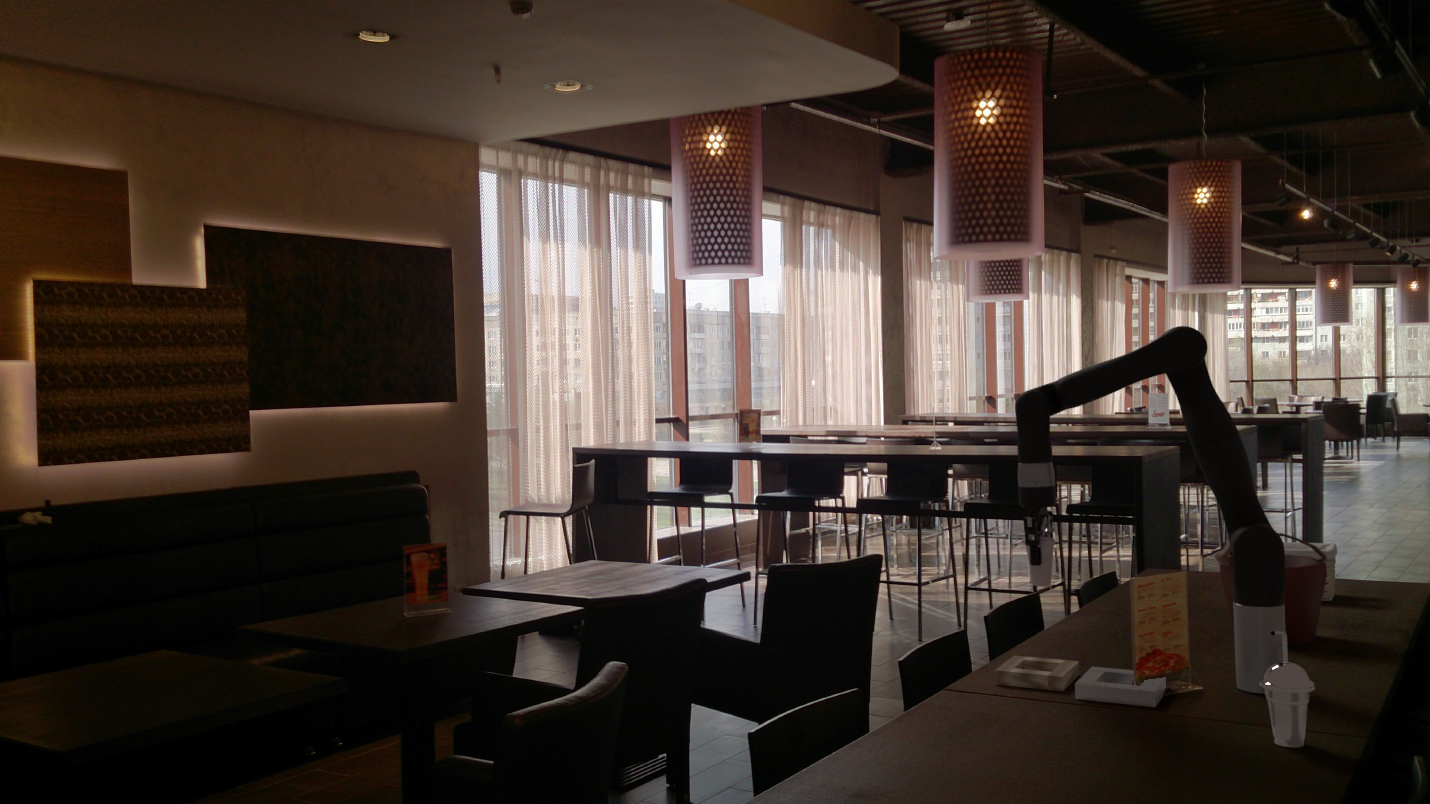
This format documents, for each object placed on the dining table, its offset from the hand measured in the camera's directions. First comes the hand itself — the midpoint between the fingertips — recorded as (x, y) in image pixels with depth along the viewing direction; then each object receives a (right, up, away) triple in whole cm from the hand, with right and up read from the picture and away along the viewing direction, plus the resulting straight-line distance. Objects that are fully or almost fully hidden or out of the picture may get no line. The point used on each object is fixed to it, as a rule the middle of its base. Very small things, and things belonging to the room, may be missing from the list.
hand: (1040, 562), depth 233 cm
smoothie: (0, -5, 0) cm, 5 cm away
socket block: (0, -25, +1) cm, 25 cm away
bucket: (+65, -23, +32) cm, 76 cm away
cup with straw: (+29, -24, -46) cm, 59 cm away
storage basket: (+94, -22, +80) cm, 125 cm away
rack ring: (+13, -25, -12) cm, 30 cm away
